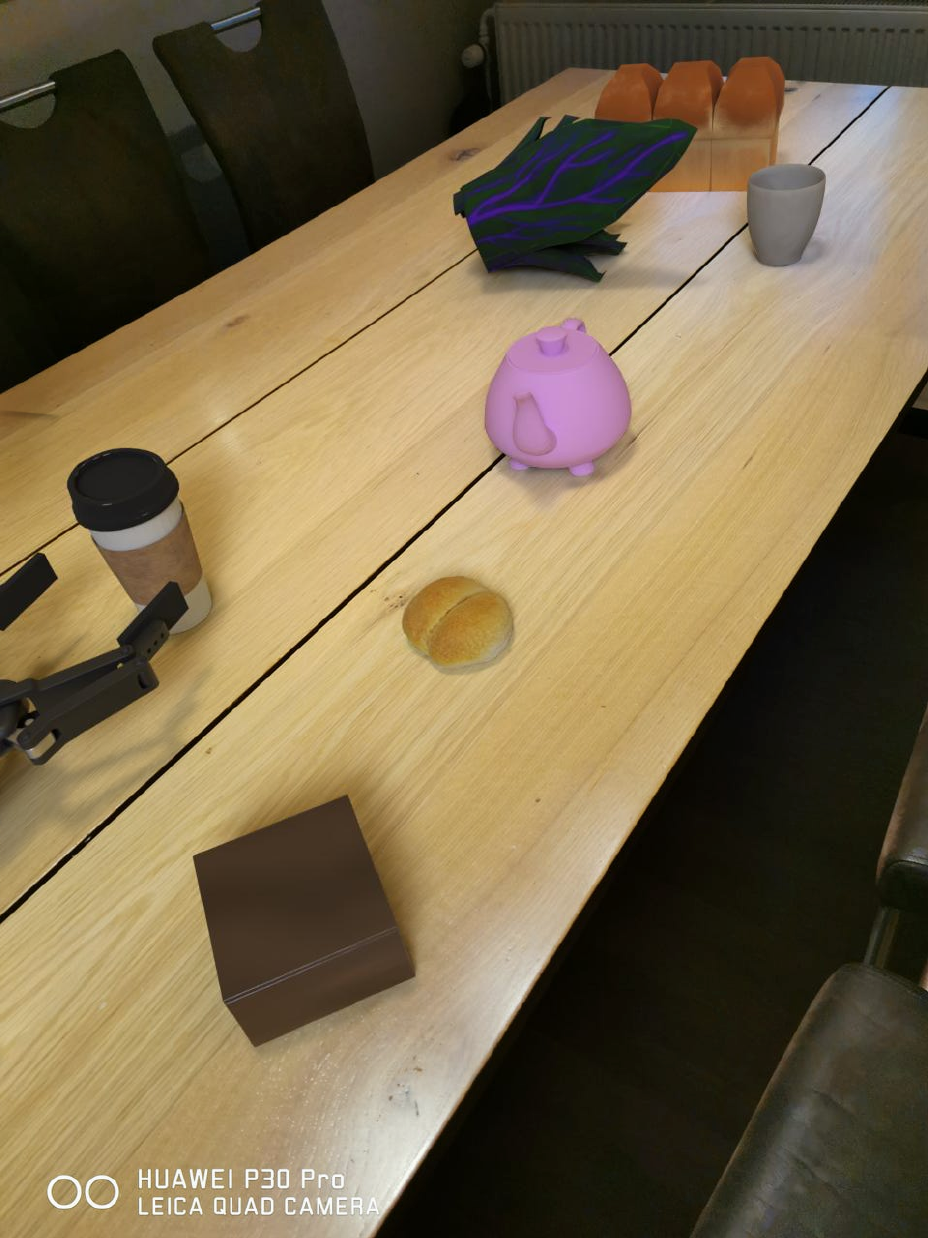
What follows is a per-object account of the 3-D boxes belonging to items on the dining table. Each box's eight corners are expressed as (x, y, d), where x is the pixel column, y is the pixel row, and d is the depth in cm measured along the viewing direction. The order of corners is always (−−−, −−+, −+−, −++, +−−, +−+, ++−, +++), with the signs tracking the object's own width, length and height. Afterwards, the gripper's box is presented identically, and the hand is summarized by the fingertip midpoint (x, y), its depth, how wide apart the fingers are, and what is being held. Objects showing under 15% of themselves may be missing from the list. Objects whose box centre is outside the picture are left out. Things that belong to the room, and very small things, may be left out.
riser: (222, 906, 62) (192, 855, 58) (366, 847, 64) (347, 793, 60) (254, 1048, 55) (222, 1001, 51) (415, 976, 57) (397, 926, 53)
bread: (595, 193, 142) (591, 83, 132) (614, 162, 150) (611, 57, 140) (769, 191, 134) (779, 74, 124) (779, 158, 142) (789, 47, 132)
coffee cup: (172, 572, 89) (110, 434, 78) (244, 590, 85) (189, 449, 75) (112, 632, 83) (37, 493, 73) (187, 654, 80) (119, 512, 70)
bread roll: (462, 688, 73) (455, 652, 70) (390, 635, 78) (381, 600, 76) (538, 630, 76) (534, 594, 74) (464, 583, 82) (457, 547, 79)
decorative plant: (510, 314, 137) (718, 237, 128) (474, 328, 114) (725, 235, 104) (462, 166, 132) (676, 75, 122) (413, 148, 108) (674, 33, 99)
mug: (817, 271, 115) (827, 188, 108) (741, 273, 117) (747, 192, 110) (815, 230, 123) (824, 151, 116) (744, 233, 125) (749, 155, 118)
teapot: (602, 522, 85) (597, 400, 77) (455, 505, 90) (435, 389, 82) (650, 403, 98) (650, 288, 90) (520, 394, 103) (508, 284, 95)
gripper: (-183, 774, 70) (18, 587, 83) (74, 872, 60) (254, 643, 74) (-249, 707, 65) (-24, 519, 78) (20, 803, 55) (224, 570, 68)
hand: (112, 579), depth 76 cm, fingers open, 13 cm apart
